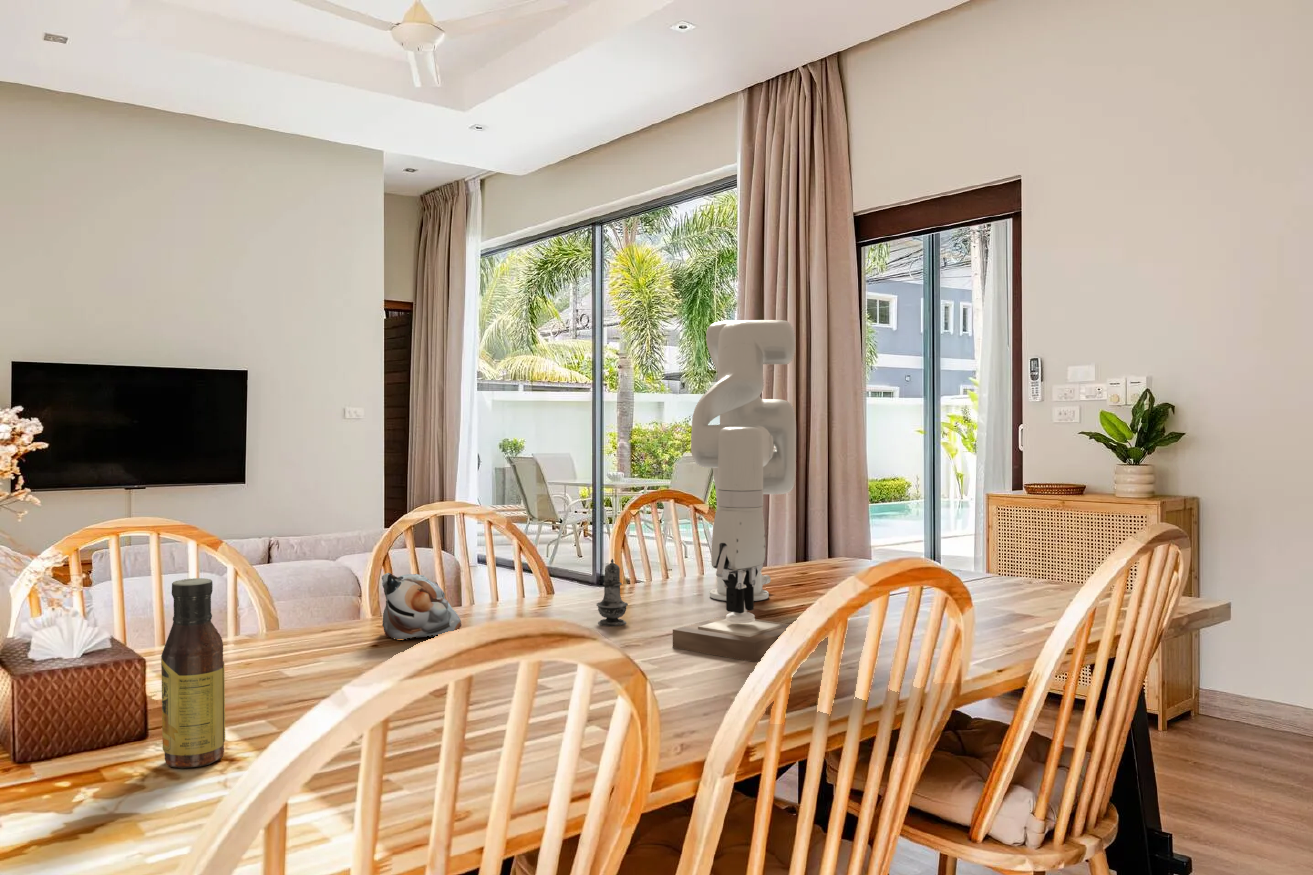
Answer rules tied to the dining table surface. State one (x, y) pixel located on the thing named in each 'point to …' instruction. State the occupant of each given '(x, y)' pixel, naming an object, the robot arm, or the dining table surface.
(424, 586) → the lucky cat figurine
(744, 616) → the chess piece
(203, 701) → the sauce bottle
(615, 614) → the salt shaker
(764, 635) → the walnut base
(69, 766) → the dining table surface
